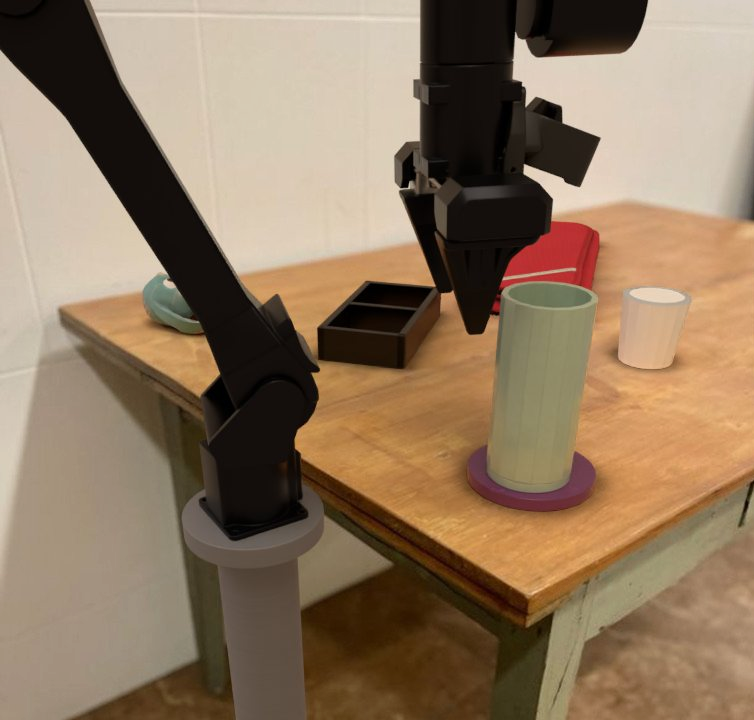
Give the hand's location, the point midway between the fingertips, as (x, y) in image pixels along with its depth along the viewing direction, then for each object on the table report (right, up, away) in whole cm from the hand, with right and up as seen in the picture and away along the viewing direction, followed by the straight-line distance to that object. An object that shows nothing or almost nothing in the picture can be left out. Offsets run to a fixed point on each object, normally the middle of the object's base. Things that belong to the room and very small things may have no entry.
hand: (459, 311), depth 58 cm
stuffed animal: (-27, +8, +38) cm, 47 cm away
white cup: (+23, +2, +29) cm, 37 cm away
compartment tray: (-5, +6, +34) cm, 35 cm away
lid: (+6, -12, +7) cm, 15 cm away
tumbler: (+6, -11, +5) cm, 14 cm away
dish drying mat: (+17, +20, +57) cm, 62 cm away
